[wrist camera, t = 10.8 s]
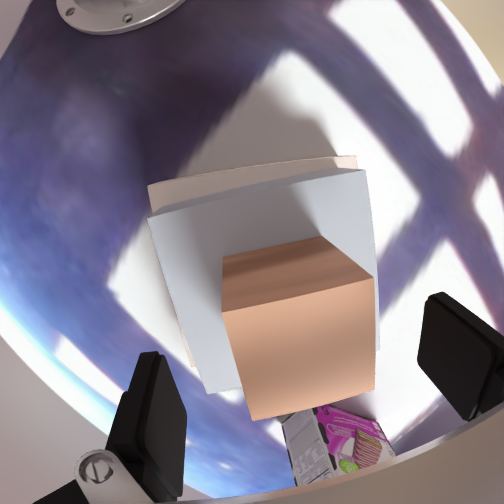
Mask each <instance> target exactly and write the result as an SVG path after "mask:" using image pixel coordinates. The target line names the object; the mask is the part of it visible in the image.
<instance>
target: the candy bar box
mask: <svg viewBox="0 0 504 504" xmlns="http://www.w3.org/2000/svg"><path fill="white" fill-rule="evenodd" d="M281 426H282V430H283V434H284V438H285V443H286V447H287V451H288V455H289V459H290V463H291V467H292V472H293V477H294V480H295V484H296V486H301V485H305V484H309V483H314V482H318V481H322V480H325V479H329V478H333V477H336V476H340V475H343V474H347V473H350V472H353V471H357V470H360V469H363V468H366V467H369V466H372V465H374V464H377V463H380V462H383V461H386V460H388V459H391V458H393V457H396V454H395V452H394V451H393V448H392V447H391V445H390V443H389V441H388V440H387V438H386V436H385V434H384V432H383V431H382V429H381V427H380V425H379V423H378V422H376V421H373V420H370V419H367V418H364V417H361V416H358V415H355V414H352V413H349V412H347V411H344V410H341V409H338V408H336V407H333V406H330V405H328V404H325V405H322V406H318V407H314V408H310V409H306V410H302V411H298V412H294V413H293V414H292V415H291V416H290V417H289V418H288V419H287V420H286V421H285V422H284V423H283V424H282V425H281Z"/></svg>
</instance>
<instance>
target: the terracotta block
mask: <svg viewBox="0 0 504 504" xmlns="http://www.w3.org/2000/svg"><path fill="white" fill-rule="evenodd" d="M222 316H223V320H224V324H225V327H226V331H227V335H228V338H229V342H230V346H231V349H232V353H233V356H234V360H235V363H236V367H237V370H238V374H239V377H240V381H241V384H242V387H243V391H244V394H245V397H246V401H247V404H248V407H249V411H250V414H251V417H252V420H253V421H255V420H260V419H265V418H270V417H275V416H280V415H285V414H289V413H294V412H298V411H302V410H306V409H310V408H314V407H318V406H322V405H325V404H329V403H332V402H336V401H339V400H343V399H346V398H349V397H353V396H356V395H359V394H362V393H365V392H368V391H371V390H374V385H375V351H376V321H375V287H374V277H373V276H372V275H370V274H369V273H368V272H367V271H365V270H364V269H363V268H362V267H361V266H359V265H358V264H357V263H356V262H354V261H353V260H352V259H351V258H349V257H348V256H347V255H346V254H344V253H343V252H342V251H341V250H339V249H338V248H337V247H336V246H334V245H333V244H332V243H331V242H329V241H328V240H327V239H326V238H324V237H323V236H319V237H314V238H310V239H305V240H300V241H295V242H291V243H286V244H281V245H277V246H272V247H267V248H262V249H258V250H253V251H248V252H243V253H239V254H234V255H229V256H224V257H223V270H222Z"/></svg>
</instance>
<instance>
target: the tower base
mask: <svg viewBox="0 0 504 504" xmlns="http://www.w3.org/2000/svg"><path fill="white" fill-rule="evenodd" d="M338 167H339V168H350V169H358V165H357V156H330V157H320V158H310V159H301V160H292V161H284V162H276V163H268V164H260V165H253V166H246V167H240V168H233V169H227V170H220V171H214V172H208V173H203V174H197V175H191V176H186V177H181V178H175V179H170V180H165V181H160V182H157V183H154V184H151V185H148V186H147V187H148V193H149V198H150V203H151V208H152V213H154V212H156V211H157V210H158V209H160V208H161V207H162V206H166V205H170V204H174V203H177V202H181V201H185V200H189V199H193V198H197V197H201V196H205V195H209V194H213V193H217V192H222V191H226V190H230V189H234V188H239V187H243V186H248V185H252V184H257V183H261V182H266V181H271V180H275V179H280V178H285V177H290V176H295V175H300V174H305V173H311V172H316V171H321V170H327V169H332V168H338ZM175 312H176V310H175ZM176 316H177V313H176ZM177 319H178V316H177ZM178 323H179V327H180V330H181V334H182V337H183V341H184V344H185V347H186V351H187V354H188V357H189V361H190V364H191V367H194V366H196V364H195V362H194V359H193V357H192V354H191V352H190V349H189V346H188V344H187V341H186V338H185V336H184V333H183V330H182V327H181V325H180V322H179V319H178Z"/></svg>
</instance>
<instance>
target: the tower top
mask: <svg viewBox="0 0 504 504" xmlns="http://www.w3.org/2000/svg"><path fill="white" fill-rule="evenodd" d="M147 221H148V225H149V228H150V232H151V235H152V239H153V242H154V245H155V249H156V252H157V255H158V259H159V262H160V265H161V268H162V271H163V275H164V278H165V281H166V284H167V287H168V290H169V293H170V296H171V299H172V302H173V305H174V308H175V310H176V313H177V316H178V319H179V322H180V325H181V327H182V330H183V333H184V336H185V338H186V341H187V344H188V346H189V349H190V352H191V354H192V357H193V359H194V362H195V364H196V367H197V370H198V372H199V375H200V377H201V379H202V382H203V384H204V387H205V389H206V392H207V394H212V393H218V392H223V391H229V390H234V389H239V388H243V387H242V384H241V381H240V377H239V374H238V370H237V367H236V363H235V360H234V356H233V353H232V349H231V346H230V342H229V338H228V335H227V331H226V327H225V324H224V320H223V316H222V270H223V257H224V256H229V255H234V254H239V253H243V252H248V251H253V250H258V249H262V248H267V247H272V246H277V245H281V244H286V243H291V242H295V241H300V240H305V239H310V238H314V237H319V236H323V237H324V238H326V239H327V240H328V241H329V242H331V243H332V244H333V245H334V246H336V247H337V248H338V249H339V250H341V251H342V252H343V253H344V254H346V255H347V256H348V257H349V258H351V259H352V260H353V261H354V262H356V263H357V264H358V265H359V266H361V267H362V268H363V269H364V270H365V271H367V272H368V273H369V274H370V275H372V276H373V277H374V287H375V321H376V351H378V350H380V335H379V298H378V279H377V264H376V252H375V241H374V231H373V222H372V213H371V205H370V198H369V191H368V184H367V177H366V171H365V170H361V169H350V168H339V167H338V168H332V169H327V170H321V171H316V172H311V173H305V174H300V175H295V176H290V177H285V178H280V179H275V180H271V181H266V182H261V183H257V184H252V185H248V186H243V187H239V188H234V189H230V190H226V191H222V192H217V193H213V194H209V195H205V196H201V197H197V198H193V199H189V200H185V201H181V202H177V203H174V204H170V205H166V206H162V207H161V208H160V209H158V210H157V211H156V212H154V213H153V214H152V215H150V216H149V217H148V218H147Z"/></svg>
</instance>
